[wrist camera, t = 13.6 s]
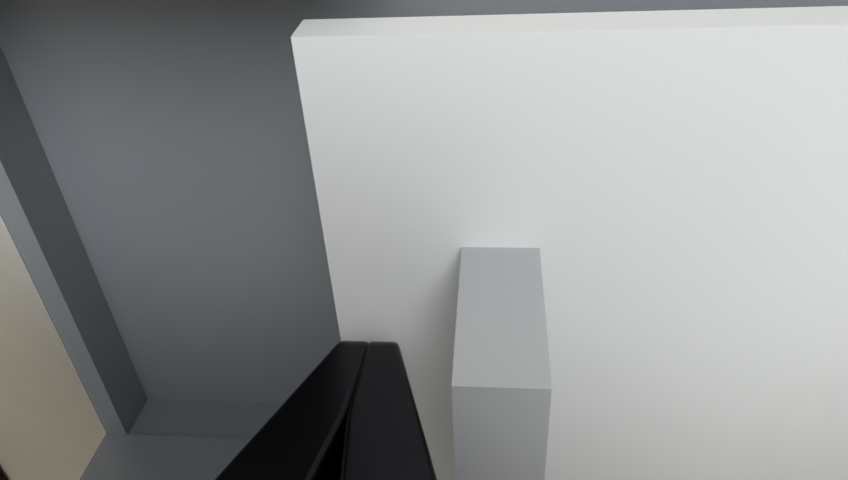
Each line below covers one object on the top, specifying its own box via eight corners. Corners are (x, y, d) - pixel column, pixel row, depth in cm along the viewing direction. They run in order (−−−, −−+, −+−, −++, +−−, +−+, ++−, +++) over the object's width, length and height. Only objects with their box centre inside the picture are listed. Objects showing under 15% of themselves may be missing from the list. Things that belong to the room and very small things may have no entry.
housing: (1041, 425, 19) (1233, 664, 14) (142, 397, 22) (36, 589, 17) (1492, -215, 11) (2386, -185, 6) (-81, -135, 13) (-434, -66, 8)
